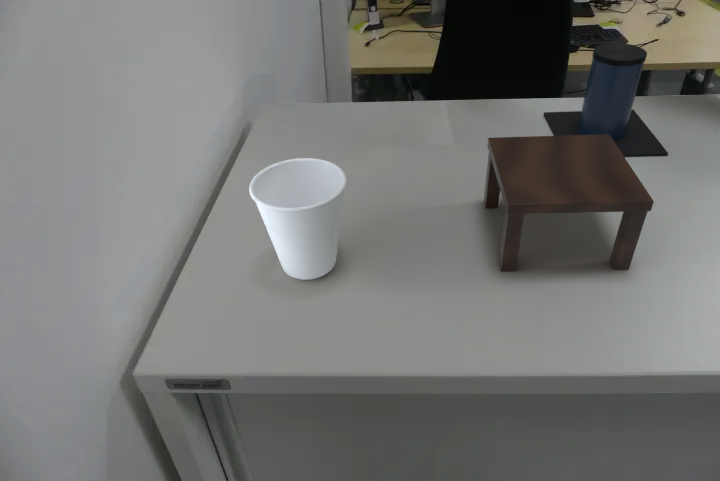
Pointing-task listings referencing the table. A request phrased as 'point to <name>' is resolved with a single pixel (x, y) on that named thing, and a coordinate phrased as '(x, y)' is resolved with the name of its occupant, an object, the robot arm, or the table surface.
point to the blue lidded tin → (611, 89)
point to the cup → (301, 213)
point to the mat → (632, 144)
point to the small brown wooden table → (564, 187)
